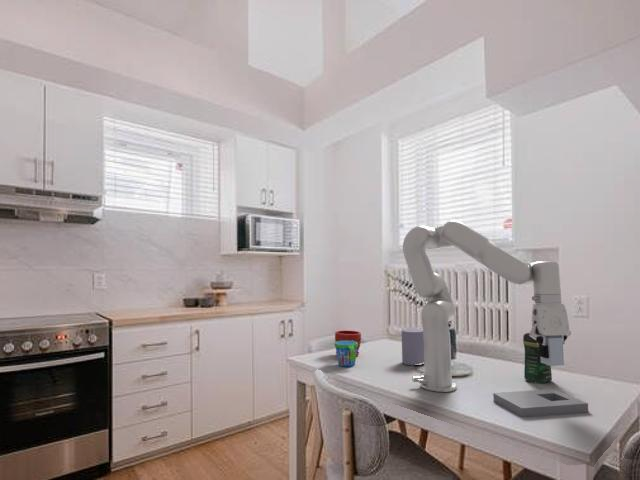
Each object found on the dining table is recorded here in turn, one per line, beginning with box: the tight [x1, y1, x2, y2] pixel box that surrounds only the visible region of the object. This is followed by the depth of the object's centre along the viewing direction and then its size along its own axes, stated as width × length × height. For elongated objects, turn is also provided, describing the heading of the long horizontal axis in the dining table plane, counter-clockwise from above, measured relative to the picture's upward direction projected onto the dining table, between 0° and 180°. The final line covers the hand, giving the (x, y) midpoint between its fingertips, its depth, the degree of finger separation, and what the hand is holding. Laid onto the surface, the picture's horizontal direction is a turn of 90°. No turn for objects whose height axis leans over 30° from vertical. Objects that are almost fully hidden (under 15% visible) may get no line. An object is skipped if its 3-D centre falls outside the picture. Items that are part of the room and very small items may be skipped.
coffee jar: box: [522, 332, 553, 384], centre depth 148 cm, size 10×8×19 cm
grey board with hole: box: [492, 388, 589, 418], centre depth 121 cm, size 22×14×2 cm, turn 99°
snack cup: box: [334, 340, 358, 368], centre depth 175 cm, size 16×10×10 cm
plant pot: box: [334, 330, 362, 357], centre depth 193 cm, size 13×13×12 cm
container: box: [401, 328, 424, 367], centre depth 177 cm, size 10×10×15 cm
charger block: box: [540, 336, 565, 367], centre depth 122 cm, size 5×5×9 cm
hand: (551, 356), depth 122 cm, fingers closed on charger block, 4 cm apart
